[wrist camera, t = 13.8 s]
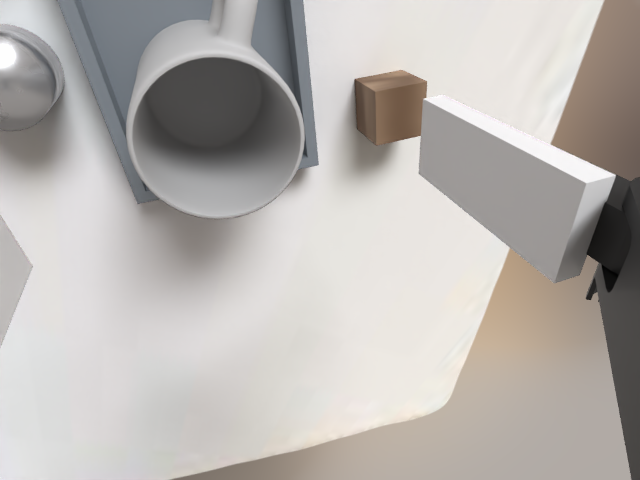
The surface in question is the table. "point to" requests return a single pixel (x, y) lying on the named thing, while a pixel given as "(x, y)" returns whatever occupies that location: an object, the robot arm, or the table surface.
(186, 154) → the mug
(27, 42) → the chrome bearing sphere
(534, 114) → the table surface
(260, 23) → the tray
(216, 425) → the table surface
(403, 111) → the walnut block
